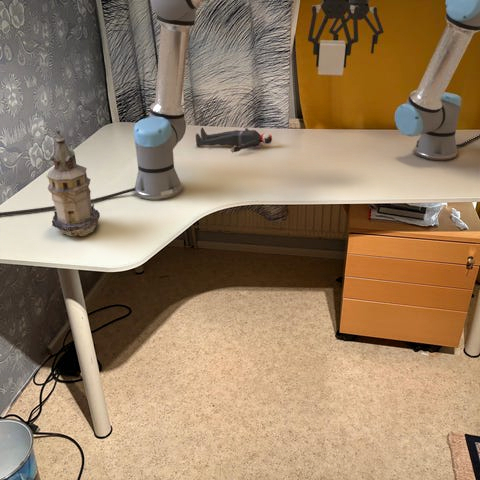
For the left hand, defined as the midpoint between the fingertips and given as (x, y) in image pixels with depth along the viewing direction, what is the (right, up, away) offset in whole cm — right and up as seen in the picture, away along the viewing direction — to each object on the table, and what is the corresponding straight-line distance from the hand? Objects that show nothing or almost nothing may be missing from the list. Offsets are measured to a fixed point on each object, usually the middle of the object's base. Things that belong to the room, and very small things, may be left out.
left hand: (330, 66), depth 163 cm
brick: (0, -2, +1) cm, 2 cm away
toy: (-30, -15, +53) cm, 62 cm away
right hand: (+16, +19, +43) cm, 50 cm away
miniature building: (-75, -50, -8) cm, 90 cm away
